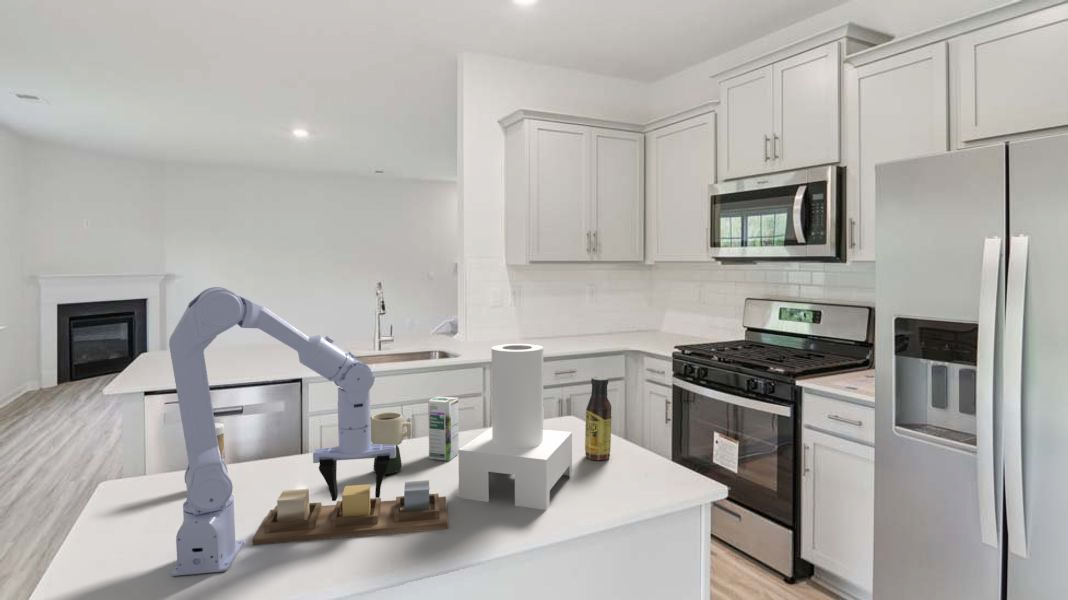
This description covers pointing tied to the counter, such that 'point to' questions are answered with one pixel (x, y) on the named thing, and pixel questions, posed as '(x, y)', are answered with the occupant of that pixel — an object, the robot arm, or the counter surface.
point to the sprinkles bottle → (220, 439)
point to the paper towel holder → (516, 433)
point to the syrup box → (443, 428)
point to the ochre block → (356, 500)
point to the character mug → (389, 435)
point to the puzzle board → (325, 522)
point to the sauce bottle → (598, 421)
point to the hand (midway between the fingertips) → (356, 497)
